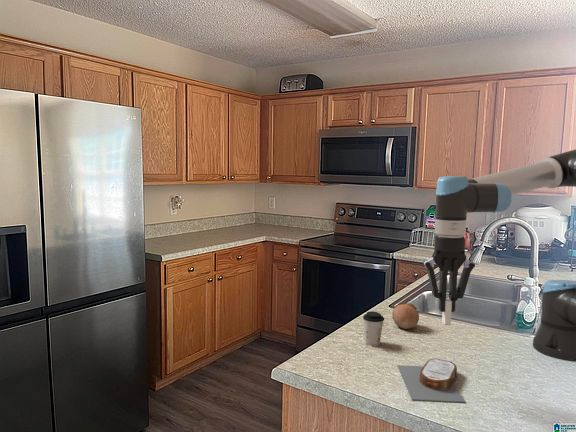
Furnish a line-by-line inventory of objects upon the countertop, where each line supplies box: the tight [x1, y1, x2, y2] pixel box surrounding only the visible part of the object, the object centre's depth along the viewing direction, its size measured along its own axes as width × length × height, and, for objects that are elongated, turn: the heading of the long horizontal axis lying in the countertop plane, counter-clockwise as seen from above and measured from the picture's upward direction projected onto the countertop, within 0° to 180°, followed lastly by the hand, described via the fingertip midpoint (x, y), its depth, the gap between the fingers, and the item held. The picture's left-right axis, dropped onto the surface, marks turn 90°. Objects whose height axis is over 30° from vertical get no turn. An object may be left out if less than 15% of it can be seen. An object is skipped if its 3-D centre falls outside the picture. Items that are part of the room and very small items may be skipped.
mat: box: [397, 364, 466, 404], centre depth 116 cm, size 13×19×1 cm
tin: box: [419, 358, 458, 390], centre depth 118 cm, size 15×3×8 cm
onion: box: [391, 302, 420, 330], centre depth 157 cm, size 10×9×10 cm
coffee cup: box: [362, 310, 385, 347], centre depth 142 cm, size 7×7×10 cm
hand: (446, 323), depth 114 cm, fingers closed
